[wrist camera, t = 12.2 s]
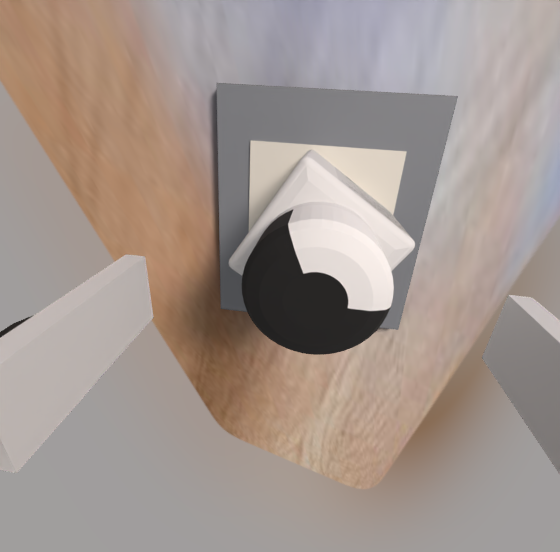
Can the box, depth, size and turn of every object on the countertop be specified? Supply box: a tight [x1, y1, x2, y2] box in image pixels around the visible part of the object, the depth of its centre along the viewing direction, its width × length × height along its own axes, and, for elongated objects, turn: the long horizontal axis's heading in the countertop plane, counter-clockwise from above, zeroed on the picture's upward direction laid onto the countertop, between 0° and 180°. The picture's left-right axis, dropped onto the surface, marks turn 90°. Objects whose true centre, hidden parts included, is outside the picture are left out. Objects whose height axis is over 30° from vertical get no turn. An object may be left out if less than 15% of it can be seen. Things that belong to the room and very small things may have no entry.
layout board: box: [217, 83, 458, 330], centre depth 25 cm, size 18×16×1 cm
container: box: [229, 150, 415, 354], centre depth 19 cm, size 8×8×13 cm
